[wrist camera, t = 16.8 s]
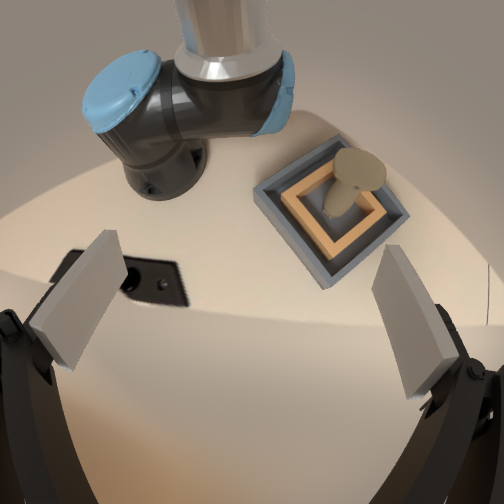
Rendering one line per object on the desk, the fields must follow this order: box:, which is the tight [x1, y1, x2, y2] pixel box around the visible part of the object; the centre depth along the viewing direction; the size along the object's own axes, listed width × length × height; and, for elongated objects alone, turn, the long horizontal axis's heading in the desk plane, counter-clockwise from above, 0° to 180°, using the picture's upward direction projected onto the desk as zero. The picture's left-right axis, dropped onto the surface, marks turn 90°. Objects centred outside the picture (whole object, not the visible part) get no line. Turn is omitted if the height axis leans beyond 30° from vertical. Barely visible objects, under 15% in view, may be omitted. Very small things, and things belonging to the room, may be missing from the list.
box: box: [253, 134, 410, 290], centre depth 42 cm, size 18×18×5 cm
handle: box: [322, 148, 386, 219], centre depth 36 cm, size 5×6×15 cm
